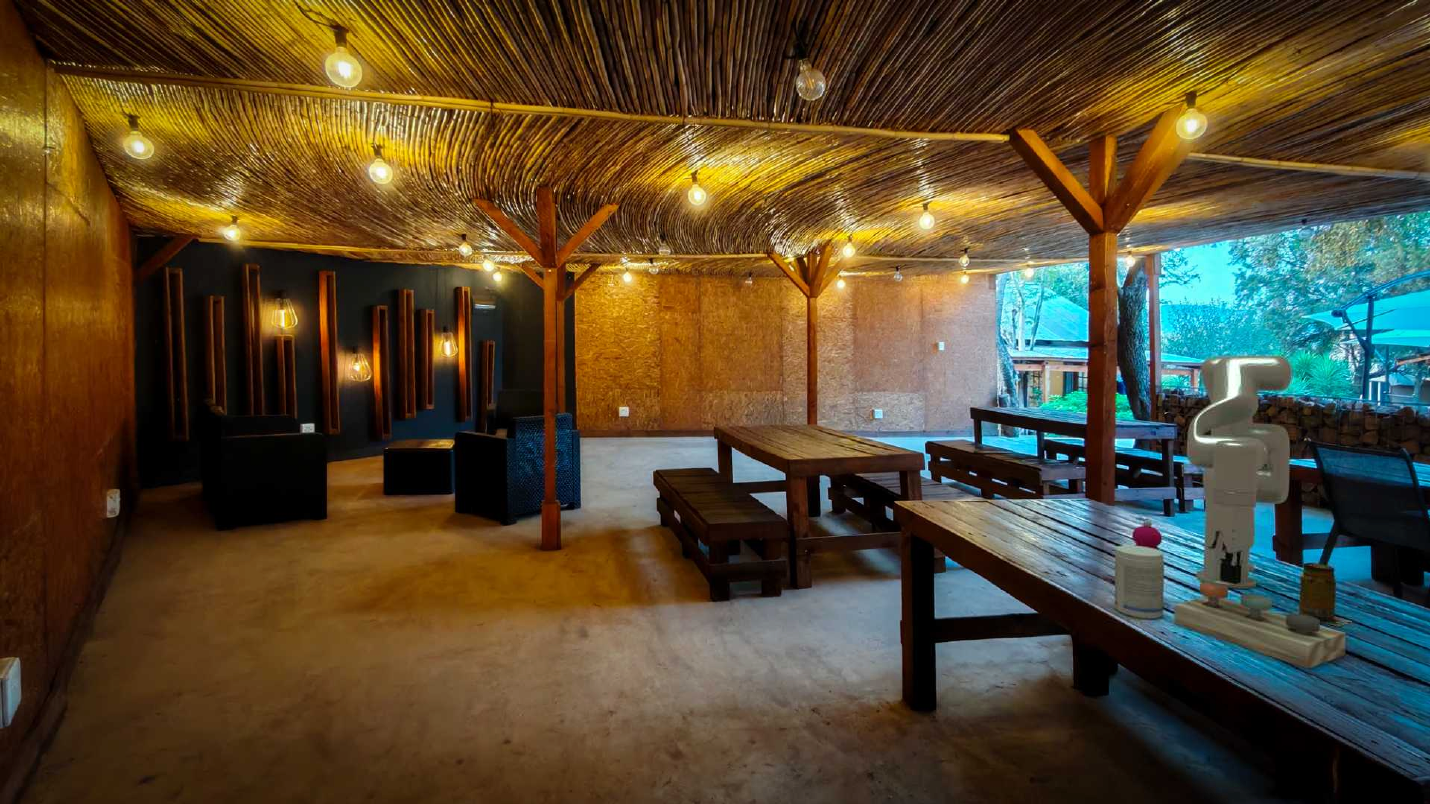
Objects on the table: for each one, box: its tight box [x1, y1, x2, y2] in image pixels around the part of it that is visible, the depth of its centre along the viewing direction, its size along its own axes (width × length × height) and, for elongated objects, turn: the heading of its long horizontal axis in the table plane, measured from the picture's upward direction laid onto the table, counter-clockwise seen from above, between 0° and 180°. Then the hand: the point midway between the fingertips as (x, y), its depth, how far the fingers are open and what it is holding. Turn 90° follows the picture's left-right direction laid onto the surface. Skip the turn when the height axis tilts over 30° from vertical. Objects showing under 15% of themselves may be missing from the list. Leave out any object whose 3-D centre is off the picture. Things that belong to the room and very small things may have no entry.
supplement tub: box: [1114, 545, 1165, 619], centre depth 153 cm, size 10×10×15 cm
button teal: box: [1240, 593, 1273, 621], centre depth 138 cm, size 5×5×5 cm
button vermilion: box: [1199, 582, 1229, 609], centre depth 145 cm, size 5×5×5 cm
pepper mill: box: [1132, 519, 1163, 551], centre depth 160 cm, size 7×7×20 cm
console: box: [1173, 596, 1347, 670], centre depth 138 cm, size 14×24×4 cm, turn 25°
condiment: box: [1294, 562, 1353, 627], centre depth 149 cm, size 7×8×12 cm
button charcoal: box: [1285, 612, 1321, 636], centre depth 131 cm, size 5×5×5 cm
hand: (1230, 581), depth 142 cm, fingers closed
